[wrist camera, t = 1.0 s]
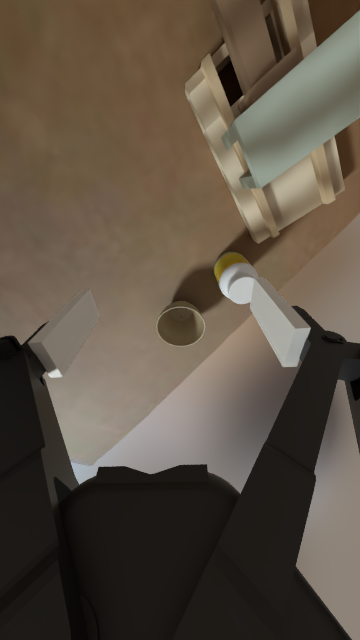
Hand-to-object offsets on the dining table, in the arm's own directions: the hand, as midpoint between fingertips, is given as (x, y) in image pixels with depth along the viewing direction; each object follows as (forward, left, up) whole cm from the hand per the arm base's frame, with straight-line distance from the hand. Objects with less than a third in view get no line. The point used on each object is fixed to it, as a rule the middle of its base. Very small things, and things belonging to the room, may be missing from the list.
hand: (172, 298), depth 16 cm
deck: (-3, +18, -25) cm, 31 cm away
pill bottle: (+11, +5, -25) cm, 28 cm away
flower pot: (+14, -9, -25) cm, 30 cm away
